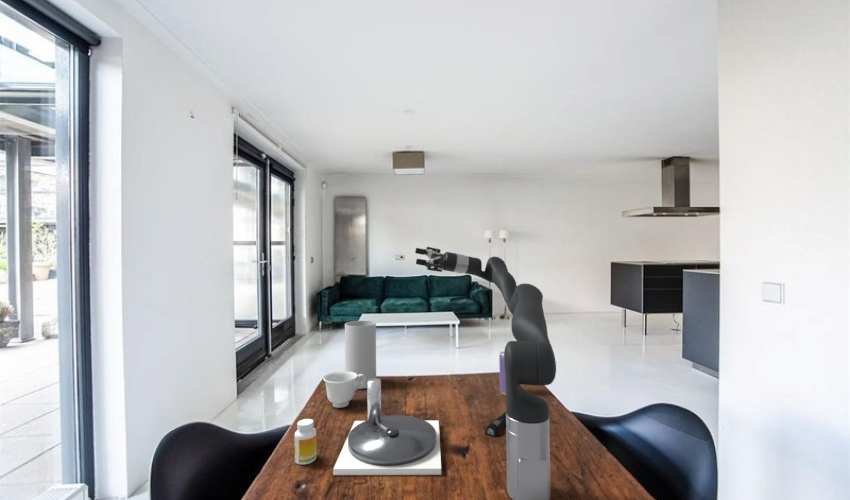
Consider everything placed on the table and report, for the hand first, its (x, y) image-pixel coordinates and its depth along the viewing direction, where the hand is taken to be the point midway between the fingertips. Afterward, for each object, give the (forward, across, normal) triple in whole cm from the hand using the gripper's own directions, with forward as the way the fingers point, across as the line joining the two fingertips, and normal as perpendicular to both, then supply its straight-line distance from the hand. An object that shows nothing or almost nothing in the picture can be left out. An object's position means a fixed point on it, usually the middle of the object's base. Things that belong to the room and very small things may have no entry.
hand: (415, 255), depth 147 cm
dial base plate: (+3, -64, -25) cm, 69 cm away
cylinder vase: (+12, -20, -53) cm, 58 cm away
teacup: (+17, -37, -44) cm, 60 cm away
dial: (+3, -63, -24) cm, 68 cm away
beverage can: (-43, -32, -34) cm, 63 cm away
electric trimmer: (-30, -55, -23) cm, 67 cm away
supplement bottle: (+25, -68, -28) cm, 78 cm away
